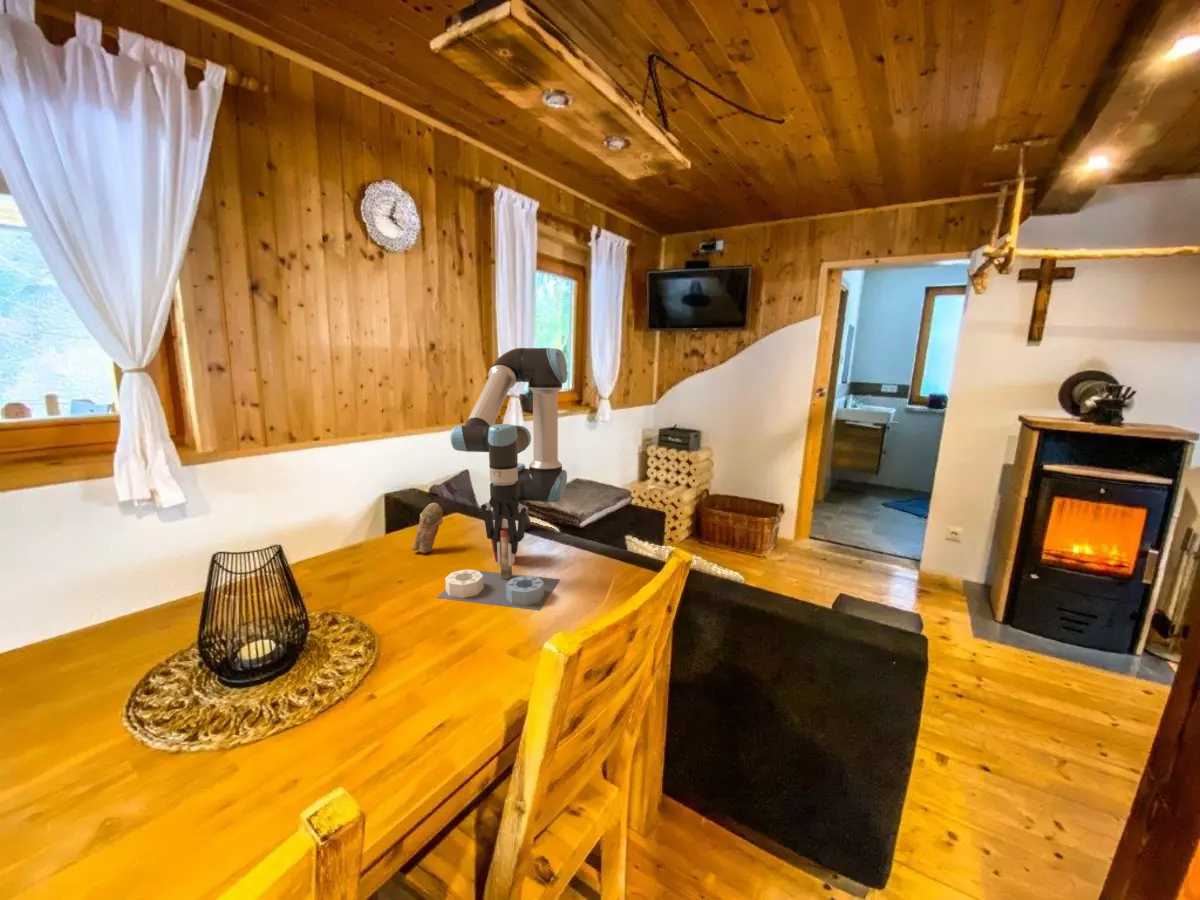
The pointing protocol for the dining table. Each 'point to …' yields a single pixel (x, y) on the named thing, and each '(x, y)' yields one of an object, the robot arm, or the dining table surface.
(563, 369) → the robot arm
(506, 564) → the dowel
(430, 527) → the figurine
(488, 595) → the felt mat
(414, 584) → the dining table surface
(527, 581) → the bead blue
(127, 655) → the dining table surface
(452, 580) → the bead white
